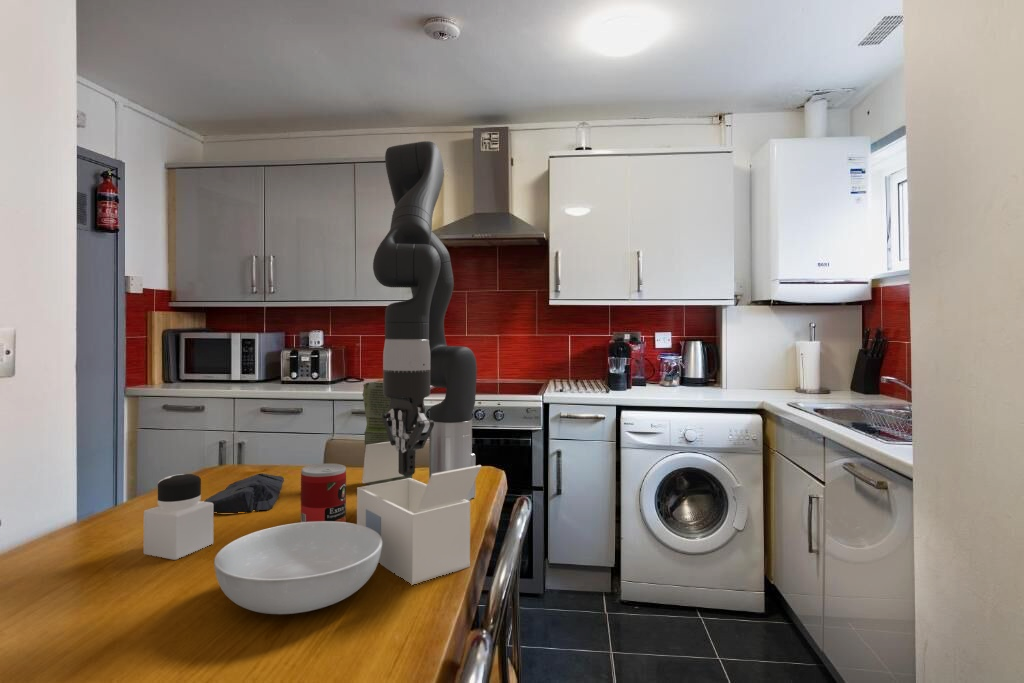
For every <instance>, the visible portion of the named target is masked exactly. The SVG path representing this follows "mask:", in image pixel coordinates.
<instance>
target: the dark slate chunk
mask: <svg viewBox="0 0 1024 683" xmlns="http://www.w3.org/2000/svg"><path fill="white" fill-rule="evenodd" d="M284 482H285V478H284V477H283V476H281V475H273V474H268V473H262V472H260V473H257V474H254V475H251V476H248V477H246V478H243V479H241V480H237V481H235V482H232V483H230V484H229V485H228V486H227V487H225V488H226V489H225V488H224V489H225V490H224V489H223V490H220V491H219V492H217V493H215V494H213V495H211V496H210V497H208V498H206V499H205V500H203V501H204V502H211V503H213V504H214V512H217V513H238V512H251V513H253V512H252V511H253V510H255V511H259V510H268V511H270V510H269V509H271V510H272V509H273V508H274V506H275V504H276V502H277V500H278V498H279V497H280V493H281V490H282V487H283V483H284ZM259 512H260V511H259Z"/></svg>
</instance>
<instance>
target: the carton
mask: <svg viewBox="0 0 1024 683" xmlns="http://www.w3.org/2000/svg"><path fill="white" fill-rule="evenodd" d="M427 484H428V483H424V482H421V481H420V480H416V479H415V478H413V477H412V478H407V479H402V480H396V481H391V482H386V483H380V484H375V485H369V486H368V485H364V486H360V487H356V524H358V525H362V526H365V527H368V528H370V529H372V530H374V531H376V532H377V533H378V534H379V535H380V536H381V538H382V550H381V555H380V559H379V562H378V564H379V563H380V565H381V566H382V567H384V568H385V569H386V570H388V571H390V572H391V573H393V574H394V573H395V574H394V575H396V576H397V577H398V576H399V577H398V578H400V577H401V578H403V579H404V580H406V581H408V582H409V583H411V584H412V585H413V584H416V583H420V582H422V581H426V580H429V579H432V578H435V579H437V578H436V577H438V576H441V577H443V576H442V575H444V576H447V575H449V573H450V574H452V572H453V573H456V572H459V571H461V570H464V569H468V568H470V567H471V501H470V500H469V501H468V500H466V499H463V500H459V501H455V502H450V503H446V504H442V505H437V506H433V507H429V508H425V509H420V510H418V509H417V508H418V505H419V503H420V500H421V498H422V496H423V493H424V491H425V488H426V486H427ZM446 574H447V575H446ZM401 578H400V579H401ZM438 578H439V577H438ZM403 579H402V580H403ZM404 580H403V581H404ZM432 580H433V579H432ZM406 581H405V582H406ZM429 581H430V580H429ZM426 582H427V581H426ZM409 583H408V584H409ZM420 584H421V583H420ZM412 585H411V586H412Z"/></svg>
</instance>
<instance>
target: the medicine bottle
mask: <svg viewBox="0 0 1024 683" xmlns="http://www.w3.org/2000/svg"><path fill="white" fill-rule="evenodd" d="M201 499H202V477H200V476H199V475H196V474H193V473H181V474H180V473H179V474H173V475H169V476H165V477H164V478H162V479H160V480H159V481H158V482H157V506H154V507H152V508H148V509H145V510H144V511H143V554H144V555H146V556H151V555H152V557H156V556H157V557H156V558H161V557H162V559H168V560H172V561H173V560H174V561H177V560H179V558H180V559H181V557H182V558H184V557H186V555H187V556H189V555H191V553H192V554H194V553H196V552H198V550H199V551H201V550H203V549H206V548H208V547H210V546H209V545H211V544H212V545H214V523H215V522H214V519H215V518H214V515H215V514H214V504H213V503H211V502H204V501H205V500H203V501H202V500H201ZM212 545H211V546H212ZM207 546H208V547H207ZM205 547H206V548H205ZM202 548H203V549H202ZM200 549H201V550H200ZM195 551H196V552H195ZM193 552H194V553H193ZM188 554H189V555H188Z"/></svg>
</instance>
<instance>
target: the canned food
mask: <svg viewBox="0 0 1024 683" xmlns="http://www.w3.org/2000/svg"><path fill="white" fill-rule="evenodd" d="M346 468H347V467H346V465H343V464H339V463H317V464H315V463H314V464H311V465H307V466H305V467H302V468H301V472H300V523H301V522H315V521H335V522H346V521H347V520H346V518H347V516H346V515H347V513H346V512H347V469H346Z"/></svg>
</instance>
